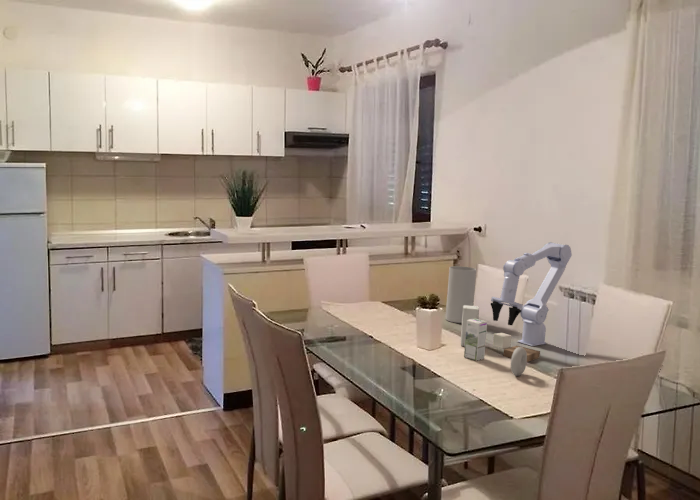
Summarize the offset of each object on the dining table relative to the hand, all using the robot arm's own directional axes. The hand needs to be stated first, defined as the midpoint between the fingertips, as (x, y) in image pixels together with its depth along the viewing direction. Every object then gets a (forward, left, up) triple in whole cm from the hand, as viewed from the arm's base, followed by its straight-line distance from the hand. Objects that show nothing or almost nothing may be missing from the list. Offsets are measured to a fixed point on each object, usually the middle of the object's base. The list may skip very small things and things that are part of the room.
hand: (502, 322), depth 266 cm
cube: (-1, 0, -10) cm, 10 cm away
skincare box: (+10, -8, -10) cm, 16 cm away
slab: (+4, +14, -10) cm, 18 cm away
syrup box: (+23, +7, -10) cm, 26 cm away
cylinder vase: (-19, -41, -10) cm, 46 cm away
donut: (+25, +29, -10) cm, 40 cm away
